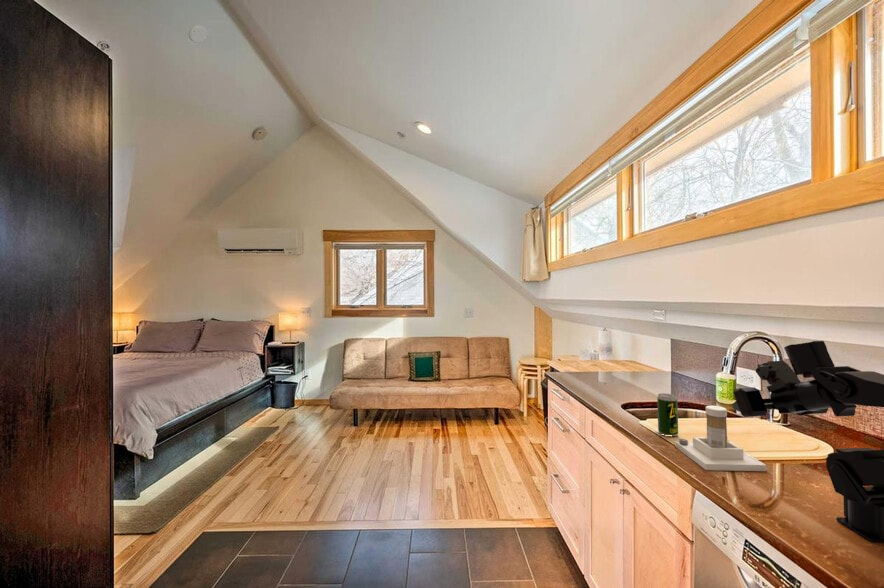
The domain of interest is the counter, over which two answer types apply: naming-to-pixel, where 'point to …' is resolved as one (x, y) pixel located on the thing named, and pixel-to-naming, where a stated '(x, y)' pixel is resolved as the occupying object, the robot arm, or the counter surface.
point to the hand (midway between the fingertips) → (750, 406)
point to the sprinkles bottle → (716, 427)
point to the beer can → (667, 414)
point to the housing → (719, 456)
